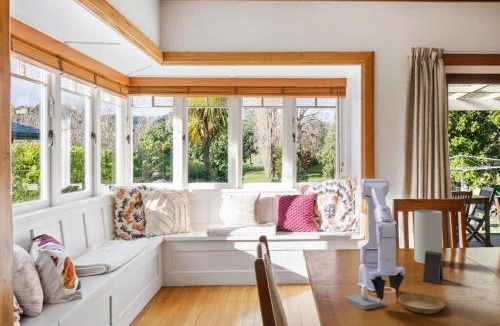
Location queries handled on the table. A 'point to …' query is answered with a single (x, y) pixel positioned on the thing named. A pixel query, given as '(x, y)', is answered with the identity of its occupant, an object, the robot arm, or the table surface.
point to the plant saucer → (421, 303)
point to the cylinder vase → (427, 233)
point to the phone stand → (433, 267)
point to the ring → (388, 296)
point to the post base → (364, 300)
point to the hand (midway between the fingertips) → (386, 297)
